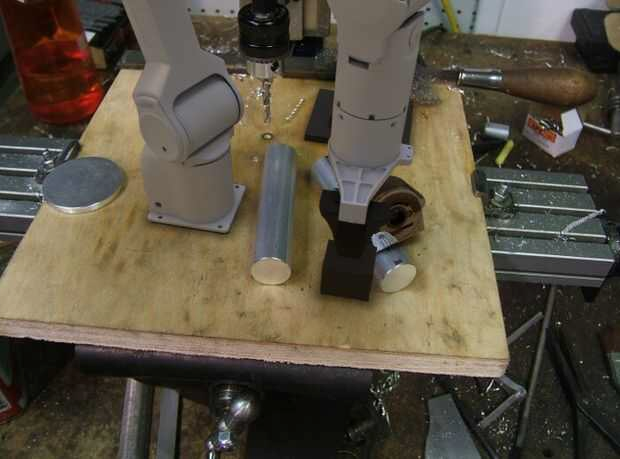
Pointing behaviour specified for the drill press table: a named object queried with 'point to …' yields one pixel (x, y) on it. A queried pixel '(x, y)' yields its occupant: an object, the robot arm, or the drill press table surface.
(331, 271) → the dark brown block
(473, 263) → the drill press table surface
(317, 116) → the base pad
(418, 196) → the brown bearing housing
